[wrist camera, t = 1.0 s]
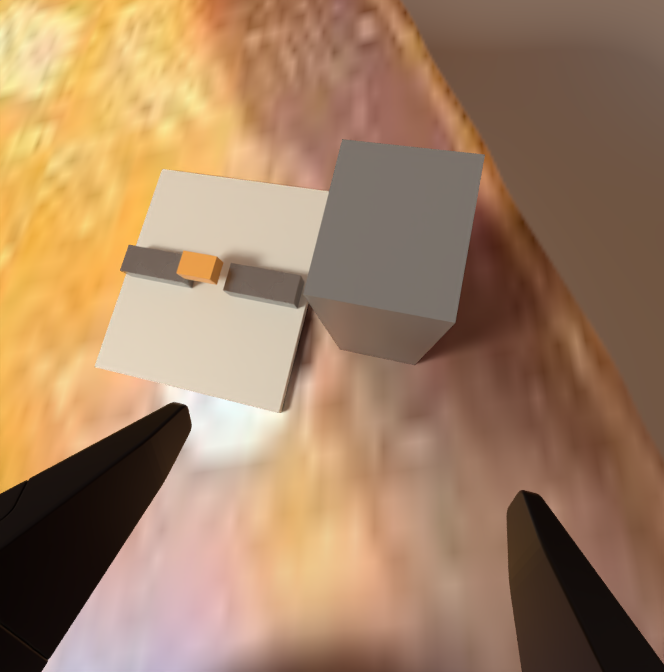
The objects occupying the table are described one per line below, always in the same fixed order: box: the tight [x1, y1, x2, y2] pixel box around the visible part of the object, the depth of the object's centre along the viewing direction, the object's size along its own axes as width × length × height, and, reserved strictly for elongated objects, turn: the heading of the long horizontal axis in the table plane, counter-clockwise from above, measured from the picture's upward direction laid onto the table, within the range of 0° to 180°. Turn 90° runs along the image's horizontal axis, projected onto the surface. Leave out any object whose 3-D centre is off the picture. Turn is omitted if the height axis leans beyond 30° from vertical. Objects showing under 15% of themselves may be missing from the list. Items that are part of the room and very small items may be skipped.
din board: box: [95, 169, 329, 413], centre depth 25 cm, size 16×14×1 cm
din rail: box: [120, 245, 304, 309], centre depth 24 cm, size 2×13×1 cm, turn 77°
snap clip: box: [176, 250, 224, 285], centre depth 23 cm, size 2×2×1 cm
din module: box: [303, 139, 485, 365], centre depth 18 cm, size 6×5×12 cm
